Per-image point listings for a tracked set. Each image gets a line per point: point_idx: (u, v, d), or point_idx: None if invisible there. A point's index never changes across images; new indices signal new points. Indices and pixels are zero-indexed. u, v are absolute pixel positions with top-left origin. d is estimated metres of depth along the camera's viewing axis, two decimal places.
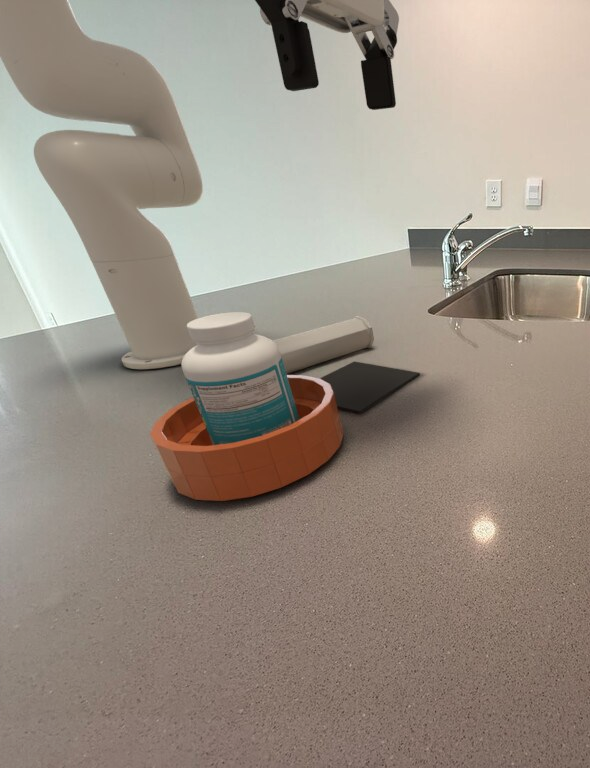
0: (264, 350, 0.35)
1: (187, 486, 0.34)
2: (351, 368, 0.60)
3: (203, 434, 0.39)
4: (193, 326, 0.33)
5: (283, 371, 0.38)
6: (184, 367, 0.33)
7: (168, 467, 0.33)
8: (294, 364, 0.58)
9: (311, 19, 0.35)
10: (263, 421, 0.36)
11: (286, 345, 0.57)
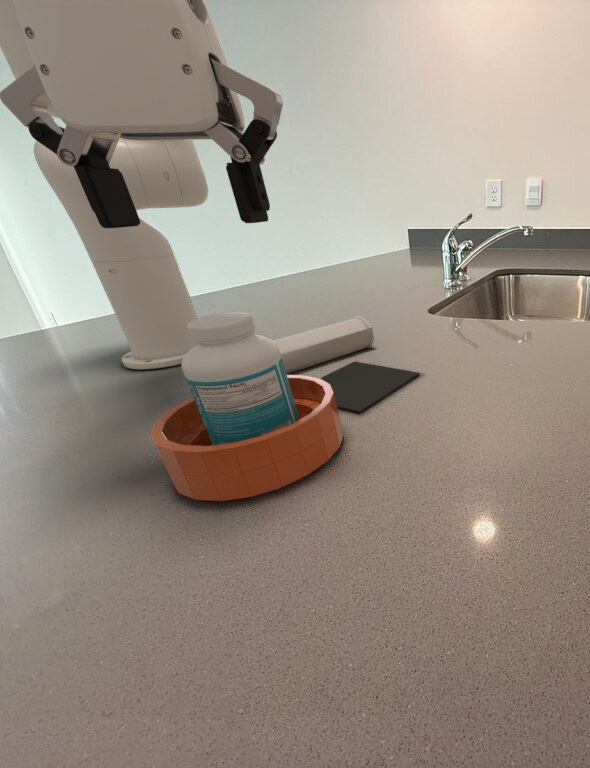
0: (264, 350, 0.35)
1: (187, 486, 0.34)
2: (351, 368, 0.60)
3: (203, 434, 0.39)
4: (193, 326, 0.33)
5: (283, 371, 0.38)
6: (184, 367, 0.33)
7: (168, 467, 0.33)
8: (294, 364, 0.58)
9: (177, 139, 0.31)
10: (263, 421, 0.36)
11: (286, 346, 0.57)
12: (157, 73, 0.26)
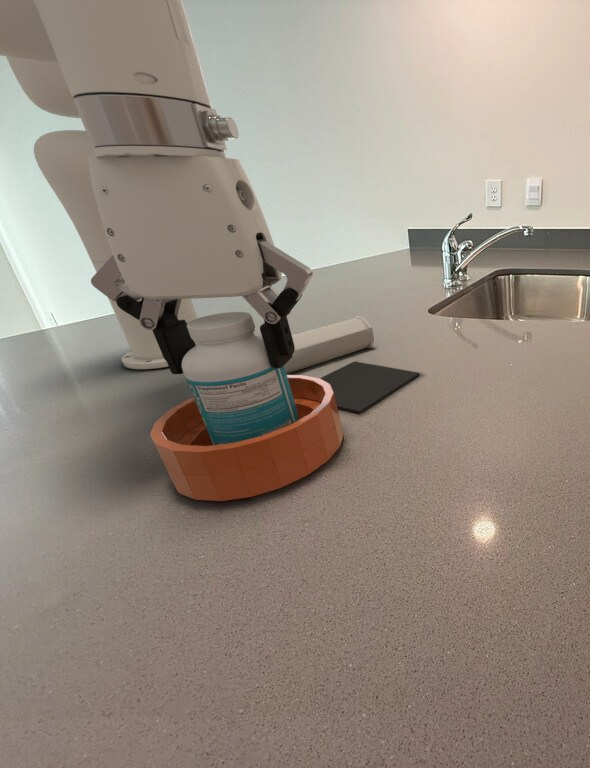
0: (264, 350, 0.35)
1: (187, 486, 0.34)
2: (351, 368, 0.60)
3: (203, 434, 0.39)
4: (193, 326, 0.33)
5: (283, 371, 0.38)
6: (184, 367, 0.33)
7: (168, 467, 0.33)
8: (294, 364, 0.58)
9: None
10: (263, 421, 0.36)
11: None
12: (214, 258, 0.31)
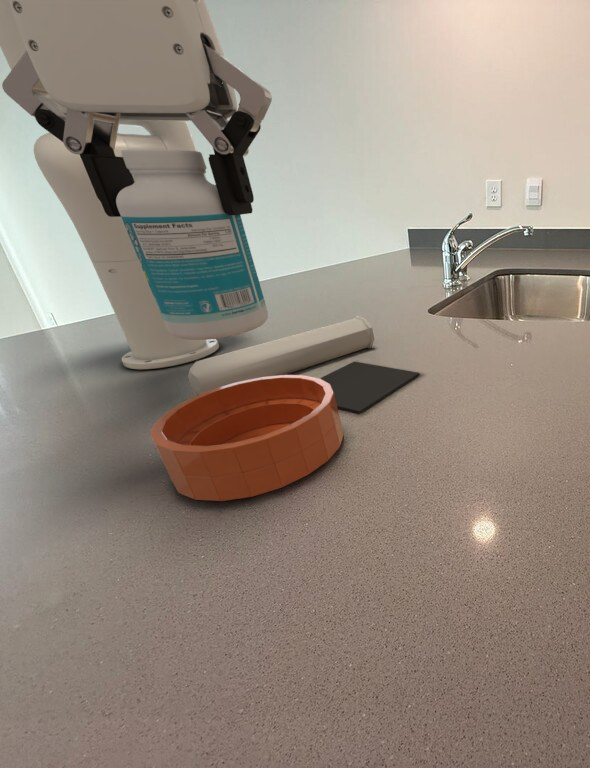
0: (216, 192, 0.30)
1: (187, 486, 0.34)
2: (351, 368, 0.60)
3: (203, 434, 0.39)
4: (128, 150, 0.28)
5: (241, 228, 0.33)
6: (118, 200, 0.28)
7: (168, 467, 0.33)
8: (294, 364, 0.58)
9: (168, 119, 0.31)
10: (215, 278, 0.31)
11: (286, 346, 0.57)
12: (148, 52, 0.25)
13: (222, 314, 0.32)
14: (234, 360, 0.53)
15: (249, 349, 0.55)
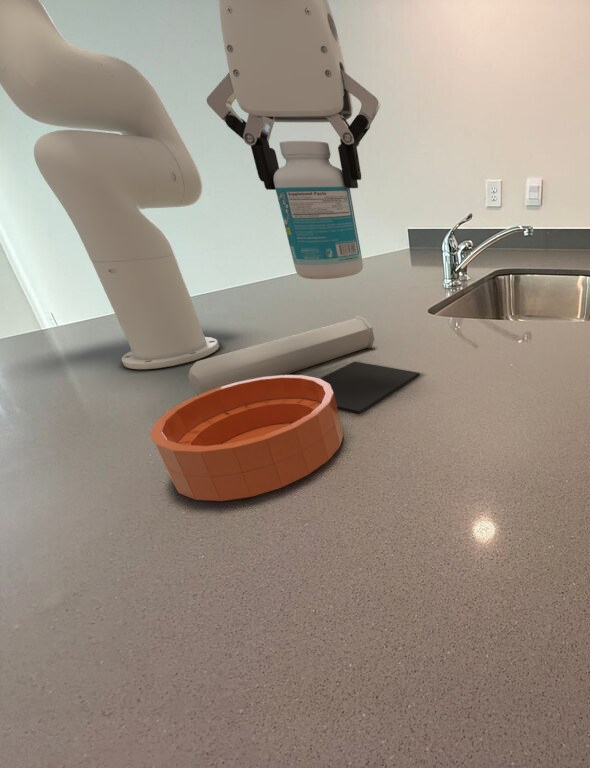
0: (339, 171, 0.43)
1: (187, 486, 0.34)
2: (351, 368, 0.60)
3: (203, 434, 0.39)
4: None
5: (351, 198, 0.45)
6: (278, 176, 0.41)
7: (168, 467, 0.33)
8: (294, 364, 0.58)
9: (304, 121, 0.43)
10: (337, 233, 0.44)
11: (286, 346, 0.57)
12: (309, 76, 0.38)
13: (339, 259, 0.45)
14: (234, 360, 0.53)
15: (249, 349, 0.55)
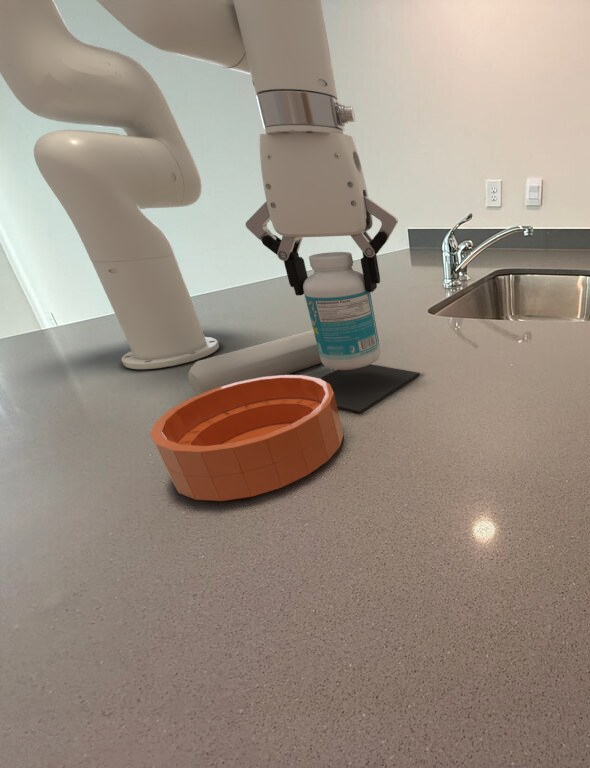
0: (361, 278, 0.48)
1: (187, 486, 0.34)
2: None
3: (203, 434, 0.39)
4: (315, 257, 0.46)
5: None
6: (308, 287, 0.46)
7: (168, 467, 0.33)
8: (294, 364, 0.58)
9: None
10: (359, 331, 0.49)
11: (286, 346, 0.57)
12: (336, 206, 0.44)
13: (360, 353, 0.50)
14: (234, 360, 0.53)
15: (249, 349, 0.55)
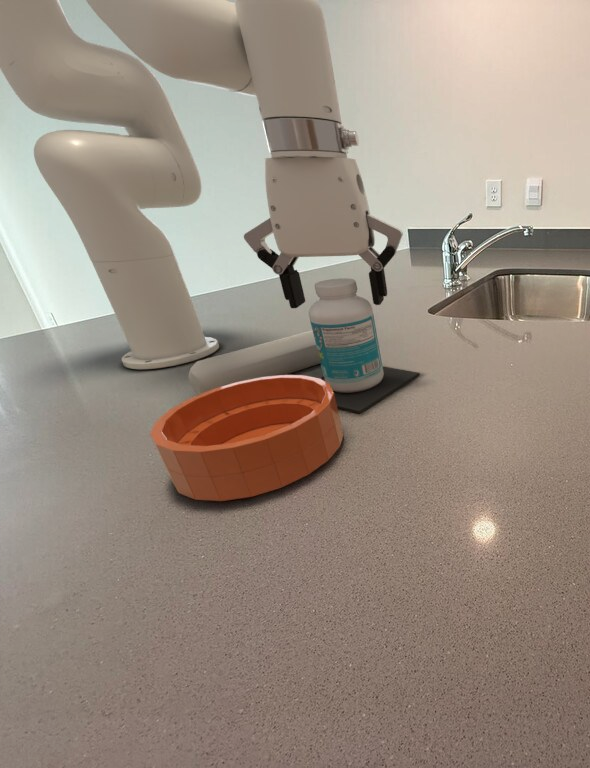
0: (365, 304, 0.50)
1: (187, 486, 0.34)
2: None
3: (203, 434, 0.39)
4: (320, 285, 0.47)
5: (374, 322, 0.52)
6: (313, 314, 0.48)
7: (168, 467, 0.33)
8: (295, 364, 0.58)
9: None
10: (363, 356, 0.50)
11: (286, 346, 0.57)
12: (340, 227, 0.45)
13: (364, 377, 0.51)
14: (234, 360, 0.53)
15: (249, 349, 0.55)
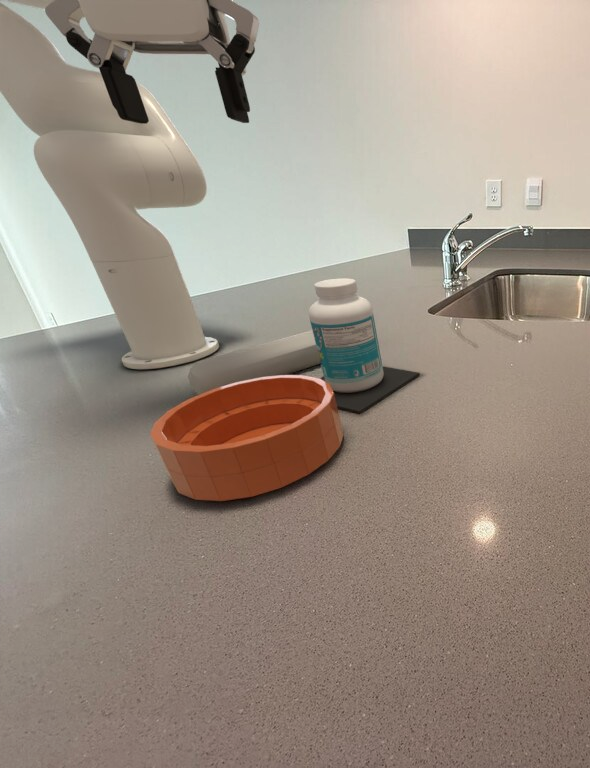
0: (365, 304, 0.50)
1: (187, 486, 0.34)
2: None
3: (203, 434, 0.39)
4: (320, 285, 0.47)
5: (374, 322, 0.52)
6: (313, 314, 0.48)
7: (168, 467, 0.33)
8: (295, 364, 0.58)
9: (177, 53, 0.40)
10: (363, 356, 0.50)
11: (286, 346, 0.57)
12: None
13: (364, 377, 0.51)
14: (234, 360, 0.53)
15: (249, 349, 0.55)
